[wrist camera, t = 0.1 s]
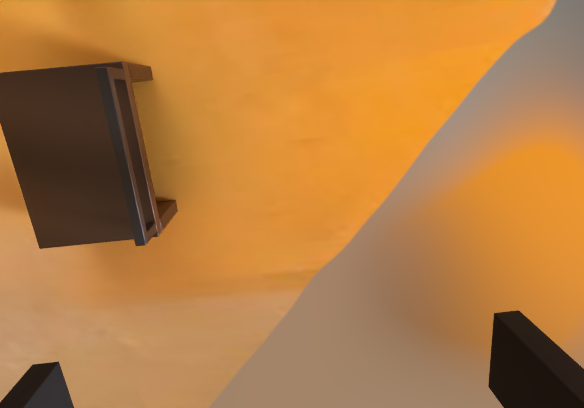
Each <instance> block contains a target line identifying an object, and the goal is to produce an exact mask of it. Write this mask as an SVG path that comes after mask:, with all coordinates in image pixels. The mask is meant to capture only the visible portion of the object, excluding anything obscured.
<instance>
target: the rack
mask: <svg viewBox="0 0 584 408" xmlns="http://www.w3.org/2000/svg"><path fill="white" fill-rule="evenodd" d="M150 80H153V78H152V73H151V67H149V66H143V65H137V64H132V63H126V62H113V63H102V64H91V65H80V66H69V67H58V68H47V69H36V70H26V71H15V72H4V73H0V123H1V126H2V130H3V133H4V136H5V139H6V142H7V146H8V149H9V152H10V155H11V158H12V162H13V165H14V168H15V171H16V174H17V178H18V181H19V184H20V187H21V190H22V194H23V197H24V200H25V203H26V206H27V210H28V213H29V216H30V219H31V222H32V226H33V229H34V232H35V235H36V238H37V242H38V245H39V248H40V249H42V248H52V247H61V246H71V245H81V244H91V243H100V242H110V241H120V240H130V239H134V240H135V244H136V246H142V245H146V244H147V243H148V242H149V240H150V239H151V238H152V237H158V236H159V235H160V234H161V232H162V231H163V230H164V228H165V227H166V226H167V224H168V223H169V222H170V220H171V219H172V218H173V216H174V215H175V214H176V212H177V211H178V210H177V205H176V200H172V201H162V202H156V199H155V195H154V190H153V185H152V180H151V175H150V170H149V165H148V160H147V156H146V151H145V146H144V141H143V136H142V131H141V126H140V122H139V117H138V112H137V107H136V102H135V97H134V92H133V88H132V83H131V82H139V81H150Z"/></svg>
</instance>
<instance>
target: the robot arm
mask: <svg viewBox="0 0 584 408" xmlns="http://www.w3.org/2000/svg"><path fill="white" fill-rule="evenodd" d="M489 388H490V389H491V391H492V392H493V393H494V395H495V396H496V398H497V399H498V400H499V402H500V403H501V404H502V406H503V407H504V408H584V369H583V368H582V367H581V366H579V364H578V363H576V362H575V361H574V360H573V359H572V358H571V357H570V356H569V355H568V354H566V353H565V352H564V351H563V350H562V349H561V348H560V347H559V346H558V345H557V344H555V343H554V342H553V341H552V340H551V339H550V338H549V337H548V336H546V335H545V334H544V333H543V332H542V331H541V330H540V329H539V328H538V327H537V326H535V325H534V324H533V323H532V322H531V321H530V320H529V319H528V318H527V317H525V316H524V315H523V314H522V313H521V312H520V311H510V312H501V313H494V322H493V335H492V347H491V360H490V373H489ZM0 408H74V406H73V403H72V400H71V397H70V394H69V391H68V388H67V385H66V382H65V379H64V376H63V373H62V370H61V367H60V364H59V362H53V363H44V364H35V365H32V366H31V367H30V368H29V370H28V371H27V372H26V373H25V374H24V375H23V377H22V378H21V379H20V380H19V381H18V382H17V384H16V385H15V386H14V387H13V388H12V389H11V391H10V392H9V393H8V394H7V395H6V396H5V398H4V399H3V400H2V401H1V402H0Z"/></svg>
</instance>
